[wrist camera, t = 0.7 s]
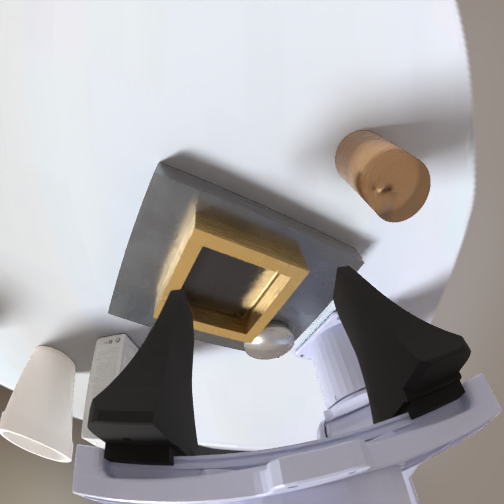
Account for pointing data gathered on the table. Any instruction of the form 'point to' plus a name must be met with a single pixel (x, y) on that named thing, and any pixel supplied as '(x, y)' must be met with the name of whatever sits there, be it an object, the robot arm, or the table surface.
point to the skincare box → (106, 373)
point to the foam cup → (42, 406)
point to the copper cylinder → (383, 175)
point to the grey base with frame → (226, 265)
